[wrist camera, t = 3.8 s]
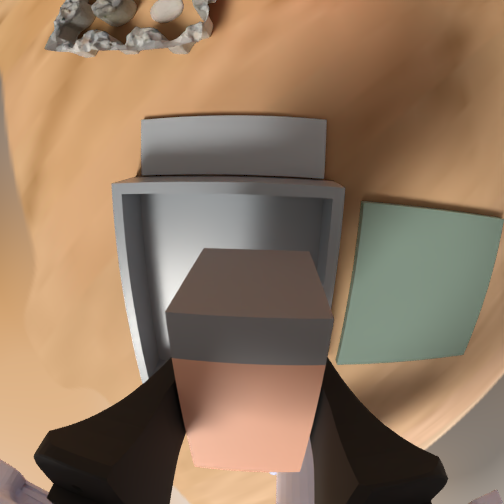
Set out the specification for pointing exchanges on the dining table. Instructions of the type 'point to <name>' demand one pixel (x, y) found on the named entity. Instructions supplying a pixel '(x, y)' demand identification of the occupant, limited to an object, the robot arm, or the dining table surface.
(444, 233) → the mat
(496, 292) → the dining table surface
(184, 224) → the grey tray
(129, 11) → the egg carton
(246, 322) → the block
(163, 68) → the dining table surface
